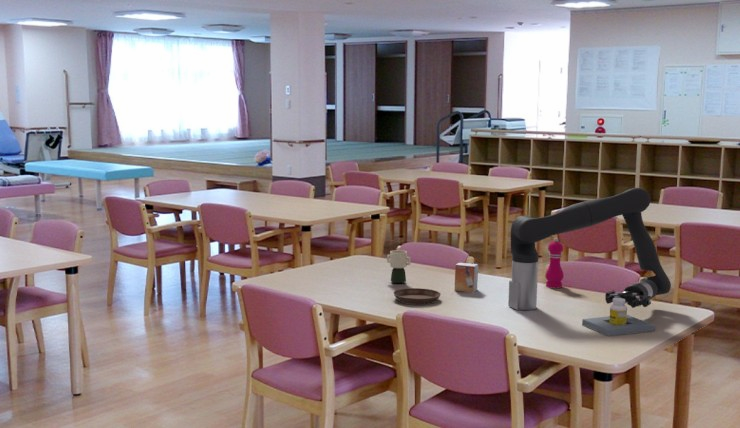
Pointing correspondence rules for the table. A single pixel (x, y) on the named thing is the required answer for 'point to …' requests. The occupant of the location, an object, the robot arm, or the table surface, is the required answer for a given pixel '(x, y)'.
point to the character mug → (398, 265)
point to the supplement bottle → (618, 312)
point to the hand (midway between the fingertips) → (619, 302)
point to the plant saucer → (417, 296)
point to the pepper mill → (554, 265)
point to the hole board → (611, 330)
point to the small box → (466, 277)
